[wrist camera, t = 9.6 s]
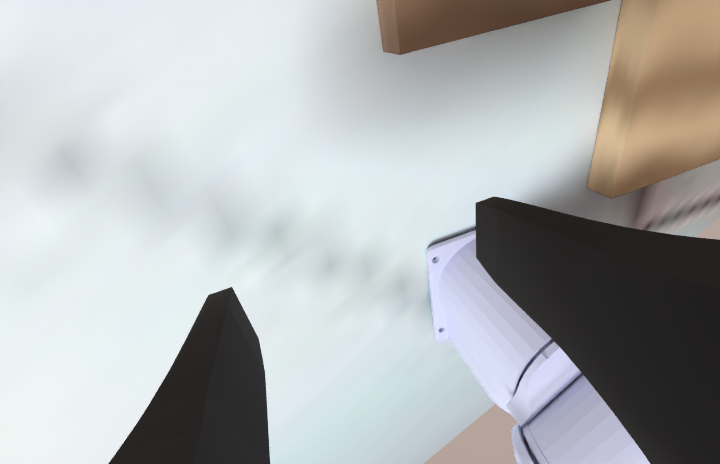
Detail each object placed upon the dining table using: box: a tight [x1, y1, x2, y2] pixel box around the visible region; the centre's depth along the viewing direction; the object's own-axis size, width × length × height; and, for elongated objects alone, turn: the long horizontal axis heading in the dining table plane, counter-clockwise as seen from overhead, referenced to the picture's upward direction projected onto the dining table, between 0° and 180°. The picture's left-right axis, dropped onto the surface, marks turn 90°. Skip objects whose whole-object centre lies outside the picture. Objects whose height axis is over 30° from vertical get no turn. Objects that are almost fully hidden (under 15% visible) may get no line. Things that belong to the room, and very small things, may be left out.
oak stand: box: [587, 0, 720, 199], centre depth 23 cm, size 12×12×2 cm
